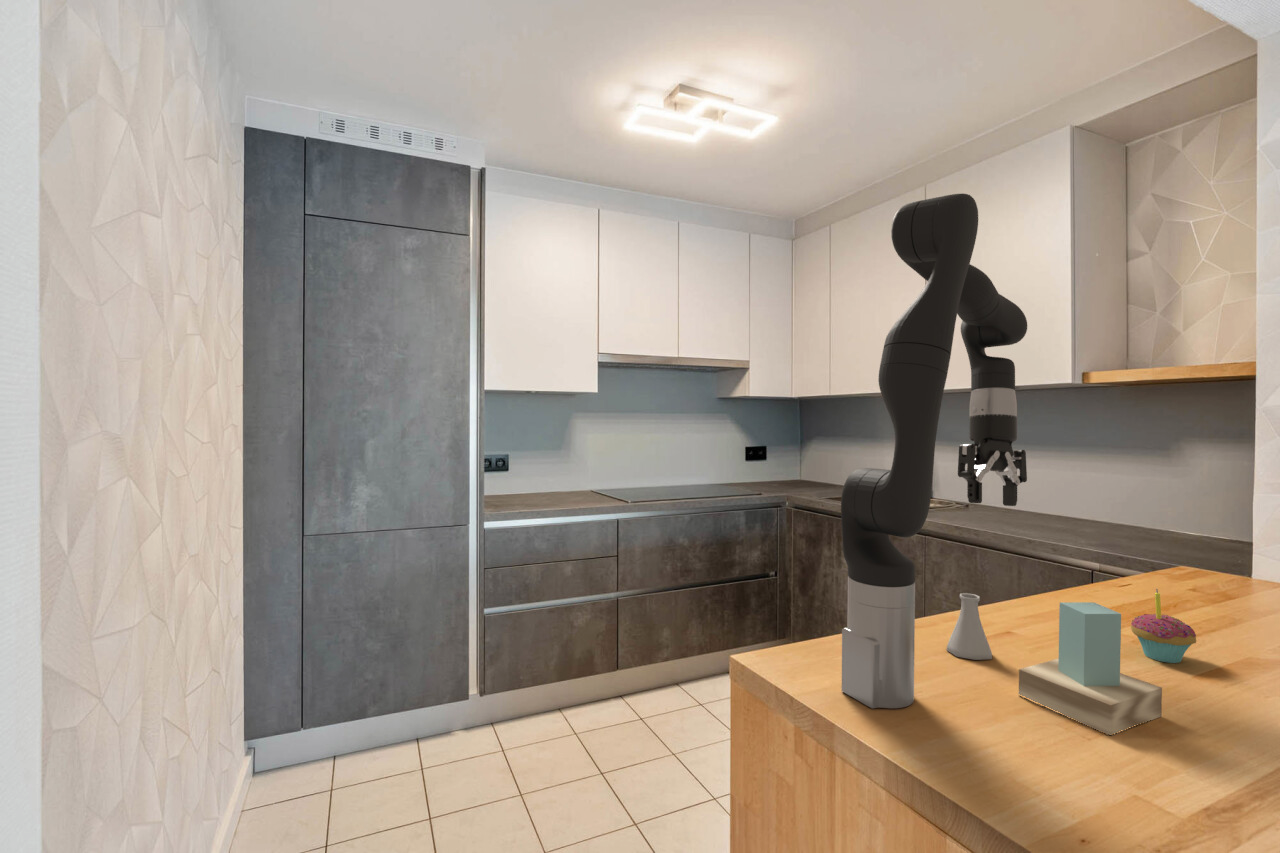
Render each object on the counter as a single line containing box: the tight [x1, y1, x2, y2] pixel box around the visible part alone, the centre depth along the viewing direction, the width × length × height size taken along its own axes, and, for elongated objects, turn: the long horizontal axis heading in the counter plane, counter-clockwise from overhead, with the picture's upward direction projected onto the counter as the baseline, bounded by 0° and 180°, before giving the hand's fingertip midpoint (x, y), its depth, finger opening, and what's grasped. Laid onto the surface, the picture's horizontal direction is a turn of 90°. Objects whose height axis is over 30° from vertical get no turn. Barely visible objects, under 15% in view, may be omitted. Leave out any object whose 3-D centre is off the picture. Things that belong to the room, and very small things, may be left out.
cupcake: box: [1130, 588, 1197, 664], centre depth 103 cm, size 9×8×12 cm
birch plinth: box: [1018, 657, 1163, 736], centre depth 86 cm, size 12×12×4 cm
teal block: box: [1058, 601, 1122, 686], centre depth 86 cm, size 5×5×10 cm
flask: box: [946, 592, 993, 661], centre depth 105 cm, size 7×7×10 cm
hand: (992, 504), depth 110 cm, fingers open, 8 cm apart
